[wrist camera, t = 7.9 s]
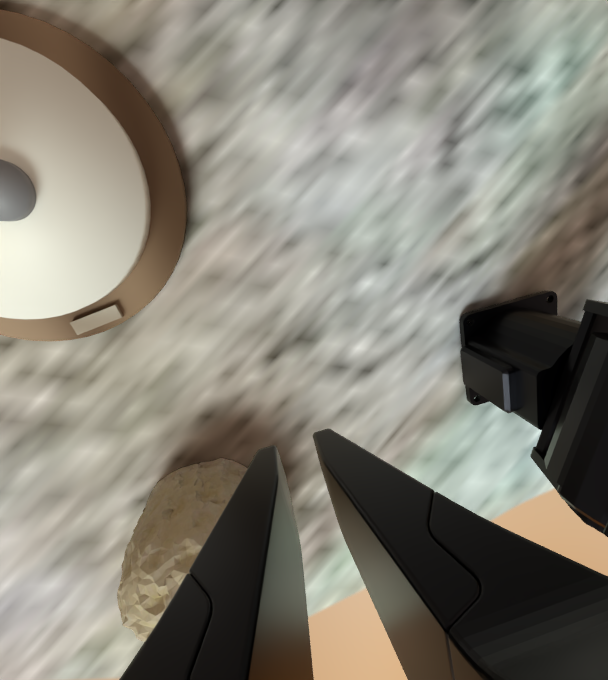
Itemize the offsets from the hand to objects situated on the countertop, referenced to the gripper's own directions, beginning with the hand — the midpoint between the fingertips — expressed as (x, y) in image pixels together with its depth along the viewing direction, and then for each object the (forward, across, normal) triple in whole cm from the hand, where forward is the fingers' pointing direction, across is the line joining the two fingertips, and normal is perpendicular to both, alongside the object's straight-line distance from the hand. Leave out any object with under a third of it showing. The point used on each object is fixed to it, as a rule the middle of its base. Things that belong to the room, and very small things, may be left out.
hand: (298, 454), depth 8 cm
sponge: (+13, +7, +12) cm, 19 cm away
